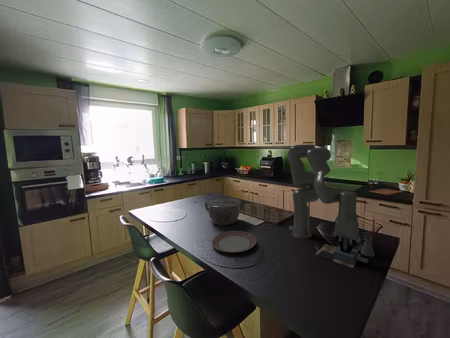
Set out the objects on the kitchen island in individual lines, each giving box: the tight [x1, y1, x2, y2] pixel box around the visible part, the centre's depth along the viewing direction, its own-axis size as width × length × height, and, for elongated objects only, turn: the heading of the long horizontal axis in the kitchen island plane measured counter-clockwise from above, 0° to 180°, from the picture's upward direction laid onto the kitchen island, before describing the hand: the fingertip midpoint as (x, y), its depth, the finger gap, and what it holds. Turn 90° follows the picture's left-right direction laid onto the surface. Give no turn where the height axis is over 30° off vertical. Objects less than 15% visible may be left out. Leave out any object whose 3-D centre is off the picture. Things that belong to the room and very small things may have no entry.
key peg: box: [342, 237, 349, 254], centre depth 108 cm, size 3×3×10 cm
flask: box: [360, 236, 376, 257], centre depth 112 cm, size 7×7×10 cm
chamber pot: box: [204, 196, 242, 226], centre depth 166 cm, size 28×28×21 cm
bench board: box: [314, 243, 362, 269], centre depth 112 cm, size 18×16×1 cm
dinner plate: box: [211, 230, 257, 253], centre depth 130 cm, size 28×27×3 cm
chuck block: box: [333, 245, 369, 265], centre depth 107 cm, size 14×9×4 cm, turn 45°
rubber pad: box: [316, 250, 333, 262], centre depth 112 cm, size 7×7×1 cm
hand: (345, 249), depth 108 cm, fingers closed on key peg, 3 cm apart
